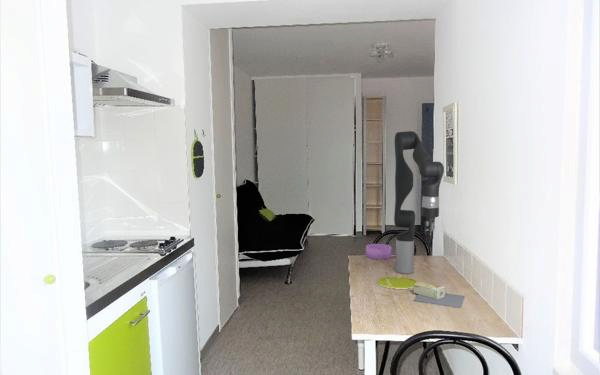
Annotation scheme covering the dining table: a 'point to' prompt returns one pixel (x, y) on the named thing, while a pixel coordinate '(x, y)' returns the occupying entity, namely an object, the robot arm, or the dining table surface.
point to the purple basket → (378, 251)
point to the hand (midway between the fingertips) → (429, 241)
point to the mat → (443, 300)
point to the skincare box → (429, 290)
